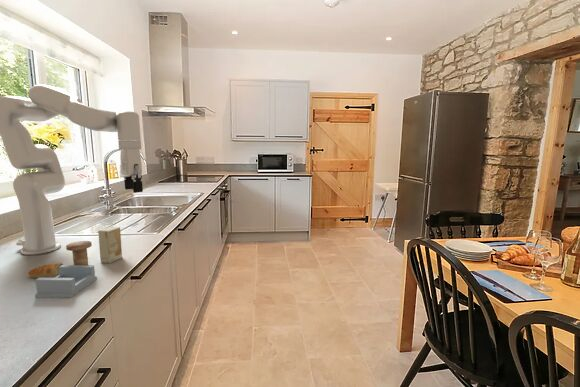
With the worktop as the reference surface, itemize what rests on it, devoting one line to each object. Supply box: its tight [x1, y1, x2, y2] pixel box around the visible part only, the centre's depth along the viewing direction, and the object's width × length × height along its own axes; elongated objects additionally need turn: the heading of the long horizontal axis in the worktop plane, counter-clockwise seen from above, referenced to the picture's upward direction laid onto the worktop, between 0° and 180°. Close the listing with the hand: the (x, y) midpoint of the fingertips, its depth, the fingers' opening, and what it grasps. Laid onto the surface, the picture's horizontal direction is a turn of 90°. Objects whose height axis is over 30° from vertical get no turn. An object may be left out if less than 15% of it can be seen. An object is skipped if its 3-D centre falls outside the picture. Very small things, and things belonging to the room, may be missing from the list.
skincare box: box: [97, 226, 123, 264], centre depth 112 cm, size 6×4×12 cm
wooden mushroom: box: [65, 240, 93, 265], centre depth 102 cm, size 7×7×10 cm
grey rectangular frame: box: [34, 264, 98, 299], centre depth 91 cm, size 10×12×5 cm
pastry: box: [26, 262, 64, 279], centre depth 100 cm, size 9×7×4 cm
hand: (133, 190), depth 115 cm, fingers open, 9 cm apart
